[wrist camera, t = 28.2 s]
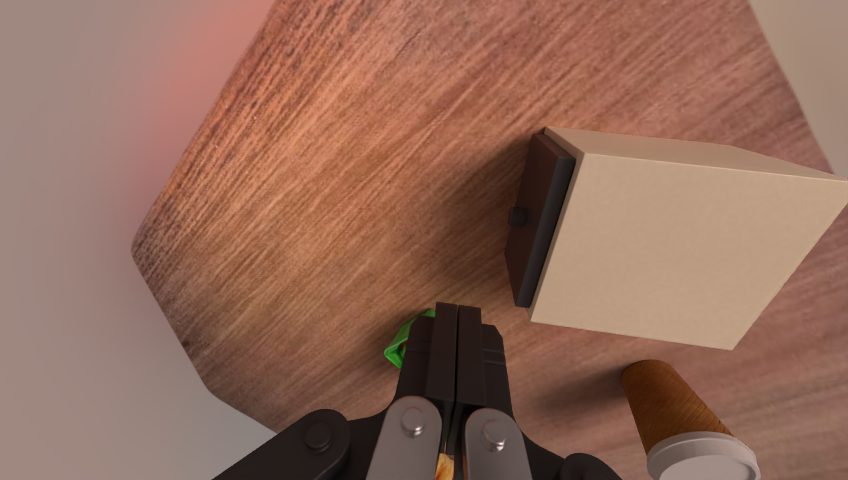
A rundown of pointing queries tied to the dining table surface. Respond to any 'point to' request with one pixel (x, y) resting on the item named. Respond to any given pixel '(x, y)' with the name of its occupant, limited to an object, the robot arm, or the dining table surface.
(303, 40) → the dining table surface
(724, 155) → the cabinet
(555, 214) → the pulled-out nightstand drawer
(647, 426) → the disposable coffee cup
